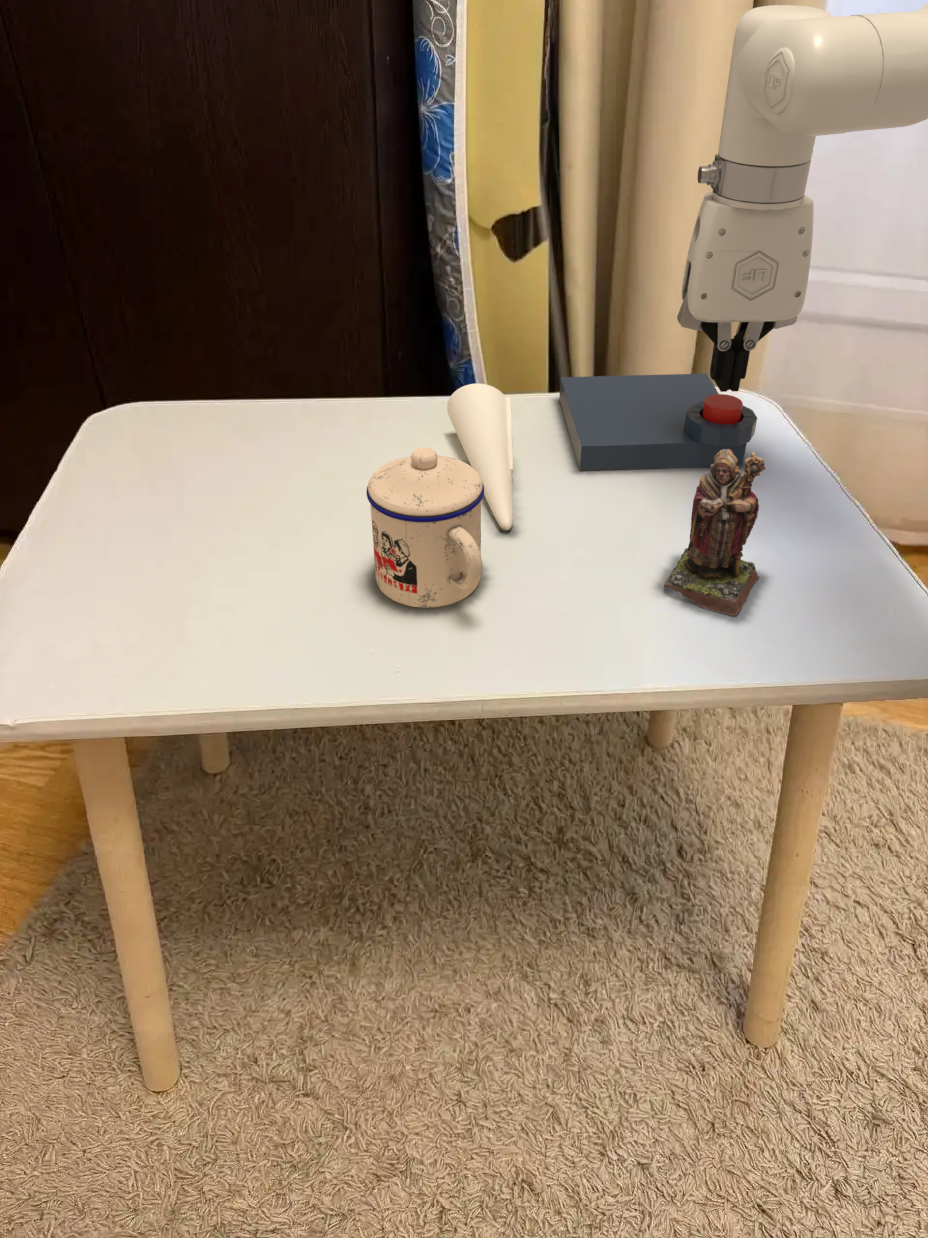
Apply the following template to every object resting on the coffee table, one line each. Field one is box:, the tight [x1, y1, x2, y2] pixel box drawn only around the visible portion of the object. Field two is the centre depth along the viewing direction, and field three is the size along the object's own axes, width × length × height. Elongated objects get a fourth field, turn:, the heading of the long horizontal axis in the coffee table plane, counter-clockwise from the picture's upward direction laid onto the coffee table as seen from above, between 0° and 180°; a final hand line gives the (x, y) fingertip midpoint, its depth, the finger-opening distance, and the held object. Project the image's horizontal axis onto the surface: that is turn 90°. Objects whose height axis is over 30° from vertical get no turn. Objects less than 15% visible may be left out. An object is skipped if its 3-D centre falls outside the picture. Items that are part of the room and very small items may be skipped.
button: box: [702, 393, 744, 424], centre depth 95 cm, size 4×4×2 cm
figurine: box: [663, 449, 767, 617], centre depth 77 cm, size 6×6×12 cm
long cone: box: [446, 383, 514, 531], centre depth 94 cm, size 6×6×19 cm
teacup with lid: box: [366, 447, 485, 609], centre depth 77 cm, size 12×9×12 cm
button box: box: [558, 373, 758, 472], centre depth 101 cm, size 17×17×4 cm
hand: (725, 385), depth 94 cm, fingers closed
